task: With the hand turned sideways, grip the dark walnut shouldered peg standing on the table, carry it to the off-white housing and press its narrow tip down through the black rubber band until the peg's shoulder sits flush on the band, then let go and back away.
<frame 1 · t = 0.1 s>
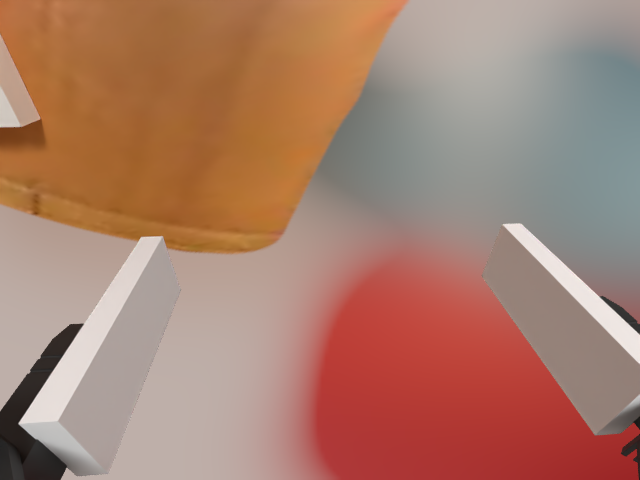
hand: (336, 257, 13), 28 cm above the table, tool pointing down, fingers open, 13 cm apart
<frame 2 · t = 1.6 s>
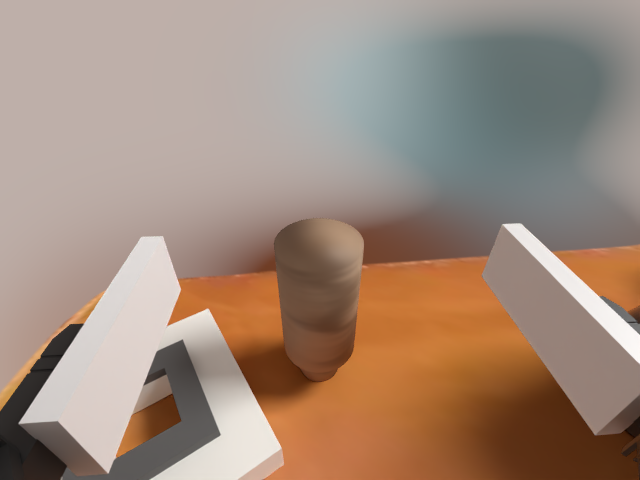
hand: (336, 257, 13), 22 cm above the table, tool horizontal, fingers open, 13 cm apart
peg: (319, 363, 34), on the table
housing: (151, 434, 28), on the table
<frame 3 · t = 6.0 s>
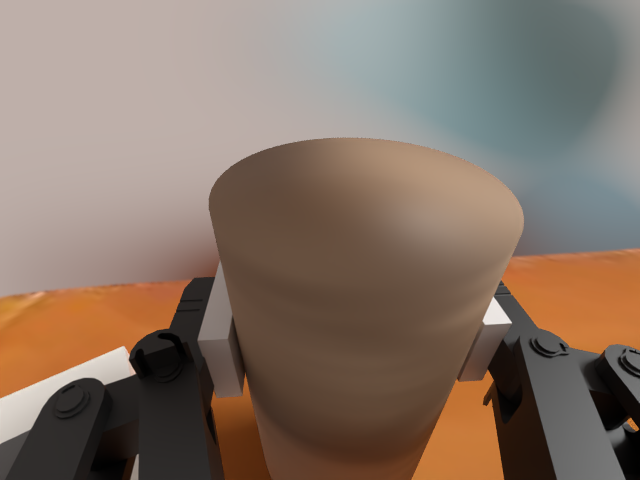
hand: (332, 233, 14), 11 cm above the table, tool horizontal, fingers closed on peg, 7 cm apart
peg: (336, 463, 17), on the table, touching gripper
when the fingers open (11 cm above the table, at t = 12.7 s): peg stays where it is, resting on housing.
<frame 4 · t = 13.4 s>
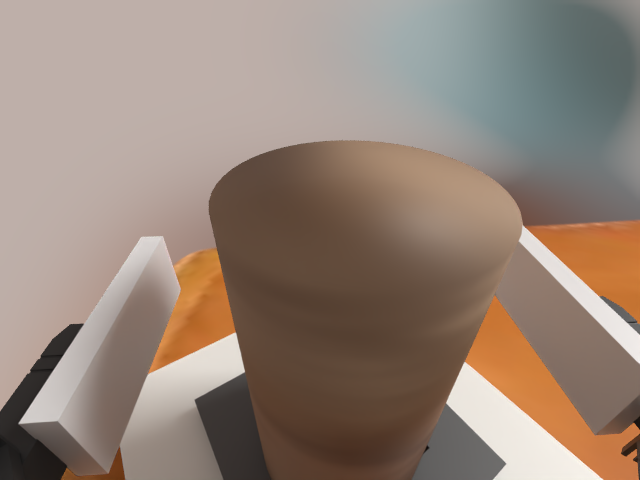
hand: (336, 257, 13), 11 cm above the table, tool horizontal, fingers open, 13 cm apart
peg: (336, 464, 17), resting on housing
housing: (335, 465, 17), on the table
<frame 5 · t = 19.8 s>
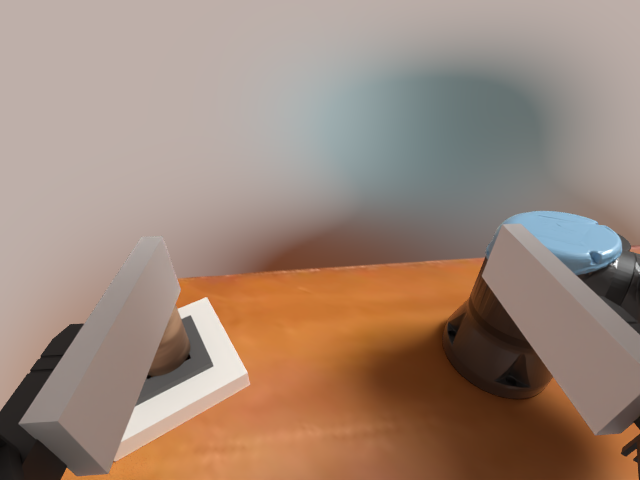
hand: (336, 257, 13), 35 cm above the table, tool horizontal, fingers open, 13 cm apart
peg: (171, 369, 47), resting on housing
housing: (172, 370, 47), on the table
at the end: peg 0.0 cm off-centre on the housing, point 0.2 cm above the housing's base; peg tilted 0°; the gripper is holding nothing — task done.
